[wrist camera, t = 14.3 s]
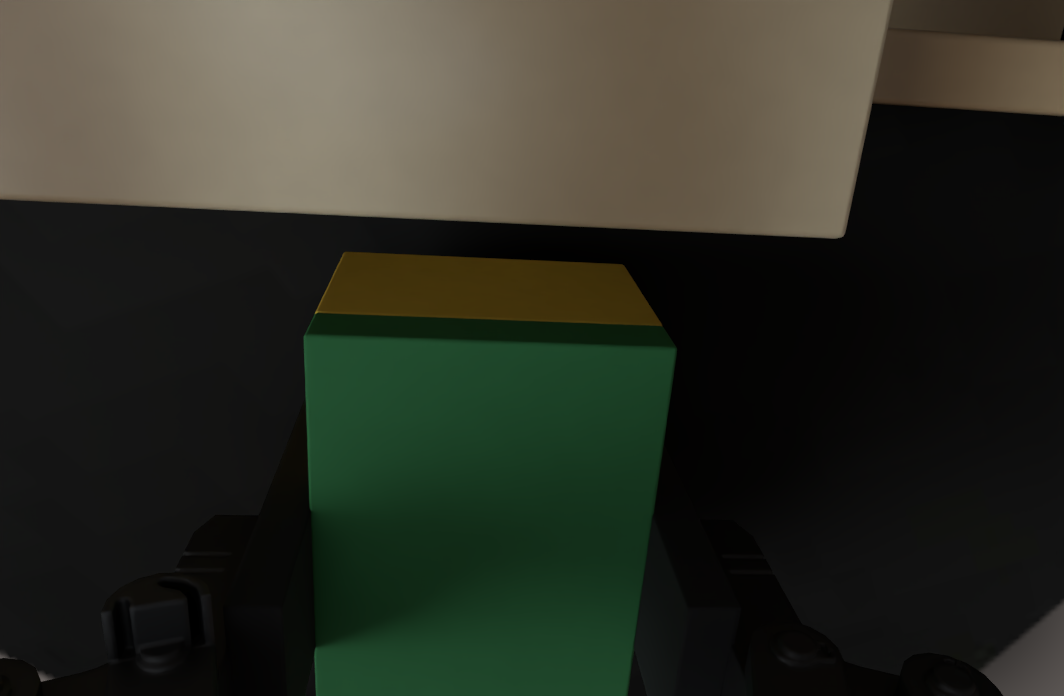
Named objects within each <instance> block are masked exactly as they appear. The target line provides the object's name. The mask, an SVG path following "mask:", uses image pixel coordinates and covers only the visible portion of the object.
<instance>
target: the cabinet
mask: <svg viewBox="0 0 1064 696" xmlns="http://www.w3.org/2000/svg"><path fill="white" fill-rule="evenodd" d="M893 1H894V0H0V199H1V200H23V201H44V202H65V203H87V204H108V205H129V206H150V207H172V208H193V209H214V210H236V211H257V212H278V213H300V214H321V215H342V216H363V217H385V218H406V219H427V220H449V221H470V222H491V223H512V224H534V225H555V226H576V227H598V228H619V229H640V230H661V231H683V232H704V233H725V234H747V235H768V236H789V237H811V238H832V239H836V238H840V237H843V236H844V234H845V232H846V227H847V222H848V217H849V212H850V208H851V203H852V198H853V193H854V188H855V184H856V179H857V174H858V169H859V164H860V160H861V155H862V150H863V145H864V140H865V136H866V131H867V126H868V121H869V116H870V112H871V107H872V102H873V97H874V92H875V88H876V83H877V78H878V73H879V68H880V64H881V59H882V54H883V49H884V44H885V39H886V35H887V30H888V25H889V20H890V15H891V11H892V6H893Z"/></svg>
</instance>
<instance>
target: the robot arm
mask: <svg viewBox="0 0 1064 696" xmlns="http://www.w3.org/2000/svg"><path fill="white" fill-rule="evenodd" d="M101 617H102V624H103V630H104V637H105V644H106V650H107V657H108V663H107V664H104V665H102V666H100V667H98V668H95V669H92V670H89V671H85V672H82V673H79V674H74V675H70V676H65V677H61V678H57V679H52V680H48V681H43V682H41V681H40V678H39V675H38V673H37V670H36V668H35V667H33V666H32V665H30V664H28V663H26V662H25V661H23V660H15V659H7V658H2V659H0V696H305V692H306V688H307V683H308V679H309V674H310V670H311V665H312V661H313V656H314V652H315V648H316V647H315V617H314V588H313V559H312V529H311V510H310V507H309V478H308V448H307V419H306V398H305V400H304V403H303V405H302V408H301V410H300V413H299V416H298V418H297V421H296V423H295V426H294V428H293V431H292V433H291V436H290V438H289V441H288V443H287V446H286V448H285V451H284V454H283V456H282V459H281V461H280V464H279V466H278V469H277V471H276V474H275V476H274V479H273V481H272V484H271V486H270V489H269V492H268V494H267V497H266V499H265V502H264V504H263V507H262V509H261V512H260V514H259V516H240V515H215V516H214V517H213V518H211V519H210V520H209V521H208V522H206V523H205V524H204V525H203V526H201V527H200V528H199V529H198V530H197V531H195V532H194V534H193V536H192V538H191V540H190V542H189V544H188V546H187V548H186V549H185V551H184V556H182V557H181V559H180V561H179V563H178V565H177V567H176V572H175V573H158V574H155V575H151V576H147V577H143V578H139V579H137V580H135V581H133V582H131V583H129V584H127V585H125V586H123V587H121V588H120V589H118V590H117V591H116V592H115V593H114V594H113V595H112V596H111V597H110V598H108V599H107V601H106V603H105V605H104V607H103V609H102V611H101ZM634 649H635V653H636V657H637V660H638V664H639V668H640V671H641V675H642V679H643V682H644V686H645V690H646V693H647V696H1003V695H1002V694H1001V692H1000V691H999V689H998V688H997V687H996V686H995V685H994V684H993V683H992V682H991V681H990V680H989V679H988V678H987V677H986V676H985V675H984V674H983V673H981V672H979V671H978V670H976V669H975V668H973V667H972V666H970V665H968V664H967V663H965V662H962V661H959V660H957V659H954V658H952V657H949V656H945V655H939V654H933V653H924V654H917V655H913V656H912V657H910V658H909V659H907V660H906V661H904V664H903V667H902V670H901V674H900V676H898V675H893V674H889V673H885V672H881V671H876V670H872V669H868V668H863V667H860V666H857V665H854V664H850V663H847V662H845V661H844V660H843V658H842V656H841V654H840V652H839V650H838V648H837V647H836V646H835V645H834V644H833V643H832V642H831V641H830V640H829V639H828V638H827V637H826V636H825V635H823V634H821V633H819V632H818V631H816V630H814V629H812V628H811V627H808V626H805V625H802V624H801V622H800V620H799V618H798V617H797V615H796V613H795V611H794V609H793V608H792V606H791V604H790V602H789V600H788V599H787V597H786V595H785V593H784V591H783V590H782V588H781V586H780V584H779V582H778V581H777V579H776V577H775V575H772V570H771V568H770V566H769V564H768V563H767V561H766V559H764V555H763V554H762V552H761V550H760V548H759V546H758V545H757V543H756V541H755V539H754V537H753V536H752V535H750V534H749V533H748V532H747V531H745V530H744V529H743V528H742V527H741V526H739V525H738V524H737V523H736V522H735V521H733V520H700V519H699V517H698V515H697V513H696V511H695V509H694V507H693V504H692V502H691V500H690V498H689V496H688V494H687V492H686V490H685V487H684V485H683V483H682V481H681V479H680V477H679V475H678V472H677V470H676V468H675V466H674V464H673V462H672V460H671V458H670V455H669V453H668V451H667V449H666V447H665V445H664V446H663V453H662V460H661V467H660V474H659V481H658V488H657V494H656V501H655V508H654V514H653V517H652V524H651V531H650V538H649V545H648V552H647V559H646V566H645V573H644V580H643V587H642V594H641V601H640V608H639V615H638V622H637V629H636V635H635V642H634Z"/></svg>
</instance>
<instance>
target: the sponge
mask: <svg viewBox="0 0 1064 696" xmlns="http://www.w3.org/2000/svg"><path fill="white" fill-rule="evenodd" d="M676 356H677V348H676V346H675V344H674V343H673V341H672V340H671V338H670V337H669V335H668V334H667V332H666V330H665V329H664V327H662V324H661V322H660V321H659V319H658V318H657V316H656V315H655V313H654V311H653V310H652V308H651V307H650V305H649V304H648V302H647V301H646V299H645V297H644V296H643V294H642V293H641V291H640V290H639V288H638V287H637V285H636V283H635V282H634V280H633V279H632V277H631V276H630V274H629V273H628V271H627V269H626V268H625V266H624V265H622V264H606V263H584V262H561V261H539V260H517V259H495V258H473V257H451V256H429V255H406V254H384V253H362V252H344V253H343V256H342V258H341V260H340V262H339V264H338V266H337V268H336V270H335V272H334V274H333V276H332V278H331V281H330V283H329V285H328V287H327V289H326V291H325V293H324V295H323V297H322V299H321V301H320V304H319V306H318V308H317V310H316V312H315V314H314V317H313V319H312V321H311V323H310V325H309V327H308V329H307V331H306V333H305V335H304V360H305V390H306V419H307V448H308V478H309V507H310V510H311V529H312V559H313V588H314V617H315V647H316V648H315V652H314V654H315V683H316V696H628V689H629V682H630V675H631V668H632V661H633V654H634V642H635V635H636V629H637V622H638V615H639V608H640V601H641V594H642V587H643V580H644V573H645V566H646V559H647V552H648V545H649V538H650V531H651V524H652V517H653V514H654V508H655V501H656V494H657V488H658V481H659V474H660V467H661V460H662V453H663V446H664V439H665V432H666V425H667V418H668V411H669V404H670V397H671V390H672V383H673V376H674V369H675V362H676Z"/></svg>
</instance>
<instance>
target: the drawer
mask: <svg viewBox="0 0 1064 696" xmlns="http://www.w3.org/2000/svg"><path fill="white" fill-rule="evenodd" d="M1063 28H1064V0H894V1H893V6H892V11H891V15H890V20H889V25H888V30H887V35H886V39H885V44H884V49H883V54H882V59H881V64H880V68H879V73H878V78H877V83H876V88H875V92H874V97H873V102H872V104H885V105H901V106H916V107H931V108H946V109H962V110H977V111H992V112H1007V113H1023V114H1038V115H1053V116H1064V41H1061V40H1060V39H1061V35H1062V31H1063ZM1063 125H1064V123H1063Z"/></svg>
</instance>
